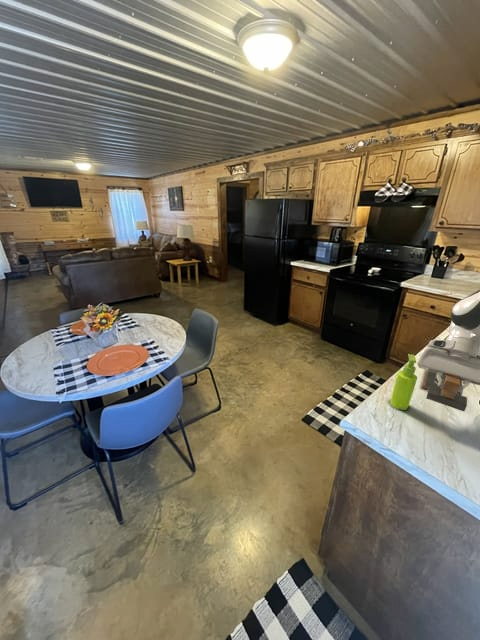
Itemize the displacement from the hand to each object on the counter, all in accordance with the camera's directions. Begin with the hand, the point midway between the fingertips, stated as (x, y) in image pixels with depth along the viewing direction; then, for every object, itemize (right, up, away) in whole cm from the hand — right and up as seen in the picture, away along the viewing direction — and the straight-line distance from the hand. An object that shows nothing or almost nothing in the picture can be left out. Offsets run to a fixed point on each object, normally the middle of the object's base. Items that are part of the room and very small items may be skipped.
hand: (449, 389), depth 84 cm
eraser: (0, -4, +2) cm, 5 cm away
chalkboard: (+19, -4, +27) cm, 33 cm away
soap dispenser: (-7, -9, +15) cm, 19 cm away
